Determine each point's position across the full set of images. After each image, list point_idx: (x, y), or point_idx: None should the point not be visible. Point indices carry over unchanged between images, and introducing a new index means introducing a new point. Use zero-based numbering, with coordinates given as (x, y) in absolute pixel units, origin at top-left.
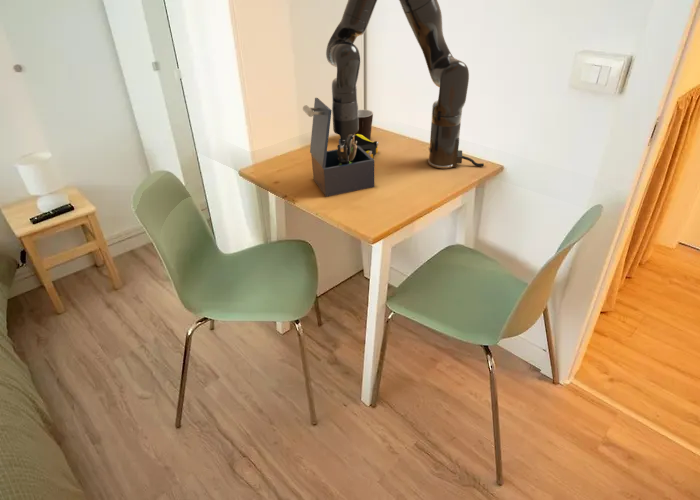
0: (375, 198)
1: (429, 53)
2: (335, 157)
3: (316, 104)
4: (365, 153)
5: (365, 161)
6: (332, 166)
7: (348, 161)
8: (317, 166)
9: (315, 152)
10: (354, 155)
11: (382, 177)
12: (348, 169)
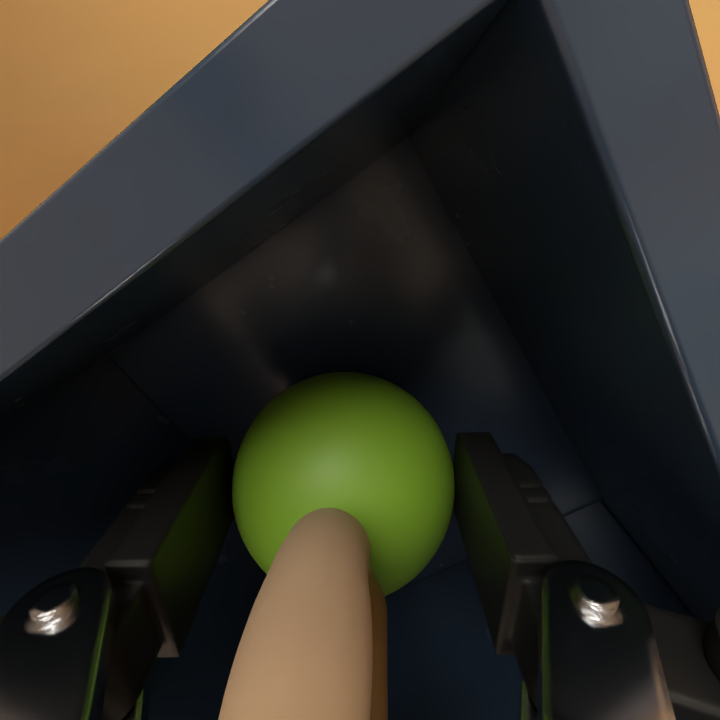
0: (704, 17)
1: None
2: (195, 680)
3: None
4: (27, 306)
5: (711, 169)
6: (255, 597)
7: (635, 600)
8: None
9: None
10: (356, 570)
11: (139, 30)
12: None
